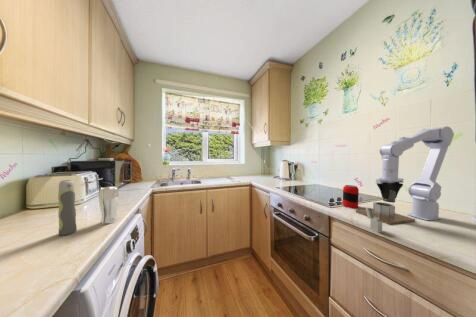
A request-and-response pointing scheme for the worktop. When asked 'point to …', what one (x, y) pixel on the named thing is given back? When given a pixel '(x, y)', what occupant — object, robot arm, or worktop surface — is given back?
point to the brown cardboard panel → (386, 213)
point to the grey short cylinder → (391, 197)
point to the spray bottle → (67, 208)
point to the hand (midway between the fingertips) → (389, 198)
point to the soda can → (350, 196)
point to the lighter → (374, 221)
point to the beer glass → (109, 204)
